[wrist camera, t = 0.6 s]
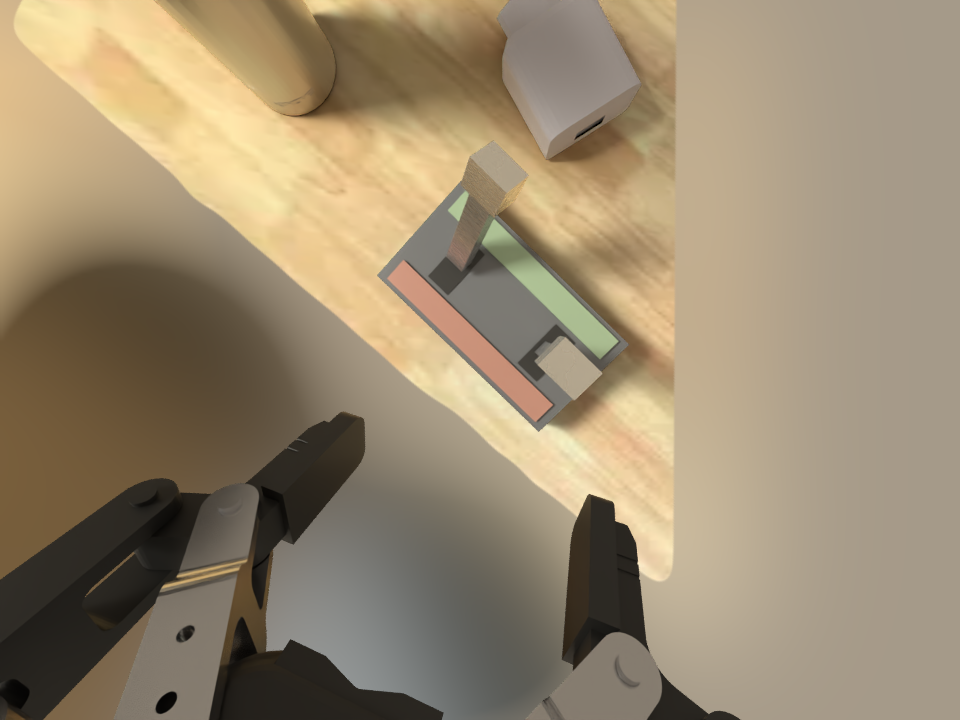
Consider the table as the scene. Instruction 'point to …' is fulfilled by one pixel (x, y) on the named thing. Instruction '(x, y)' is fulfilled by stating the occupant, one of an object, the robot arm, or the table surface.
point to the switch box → (498, 308)
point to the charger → (564, 69)
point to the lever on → (484, 199)
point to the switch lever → (567, 366)
